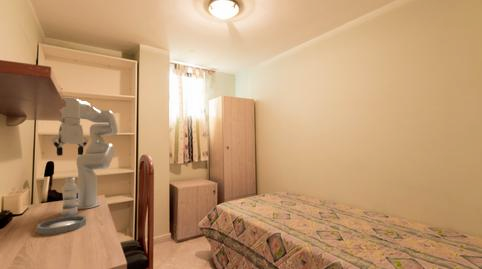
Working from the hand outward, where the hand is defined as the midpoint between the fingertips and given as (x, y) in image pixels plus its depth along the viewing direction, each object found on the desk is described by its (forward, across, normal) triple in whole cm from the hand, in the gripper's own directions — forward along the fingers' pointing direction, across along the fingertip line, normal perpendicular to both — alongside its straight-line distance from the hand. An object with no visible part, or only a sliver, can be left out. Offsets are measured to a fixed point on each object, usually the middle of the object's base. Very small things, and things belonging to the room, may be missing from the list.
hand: (70, 155), depth 118 cm
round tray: (+32, -10, -13) cm, 36 cm away
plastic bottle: (+32, 0, 0) cm, 32 cm away
